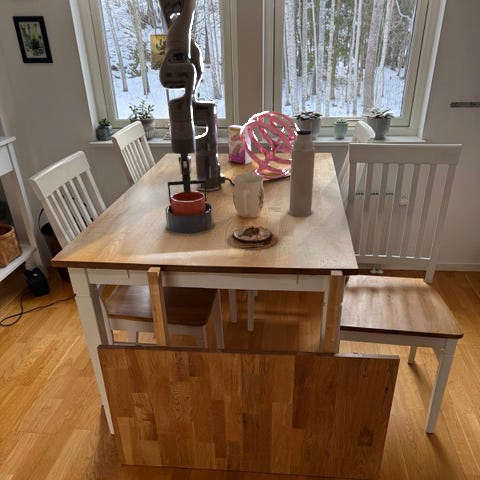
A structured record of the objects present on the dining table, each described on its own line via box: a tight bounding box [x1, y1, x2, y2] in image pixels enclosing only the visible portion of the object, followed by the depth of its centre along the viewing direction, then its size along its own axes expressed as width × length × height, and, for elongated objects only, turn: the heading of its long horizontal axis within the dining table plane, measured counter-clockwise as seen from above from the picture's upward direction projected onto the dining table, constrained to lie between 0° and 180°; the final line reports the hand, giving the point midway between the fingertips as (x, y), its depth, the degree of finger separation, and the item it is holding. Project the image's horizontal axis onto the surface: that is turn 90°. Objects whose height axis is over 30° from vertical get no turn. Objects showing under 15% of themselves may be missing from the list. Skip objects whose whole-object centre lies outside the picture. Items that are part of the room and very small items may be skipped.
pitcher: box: [232, 170, 265, 219], centre depth 165 cm, size 11×18×14 cm, turn 170°
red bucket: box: [167, 179, 208, 216], centre depth 157 cm, size 11×12×15 cm
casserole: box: [164, 202, 214, 235], centre depth 159 cm, size 16×16×6 cm
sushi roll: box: [231, 225, 277, 251], centre depth 149 cm, size 15×15×4 cm
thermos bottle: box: [288, 129, 316, 217], centre depth 163 cm, size 8×8×28 cm
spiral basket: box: [240, 110, 300, 180], centre depth 204 cm, size 28×28×27 cm
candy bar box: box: [227, 124, 252, 165], centre depth 229 cm, size 11×5×16 cm, turn 49°
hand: (187, 188), depth 154 cm, fingers open, 7 cm apart
